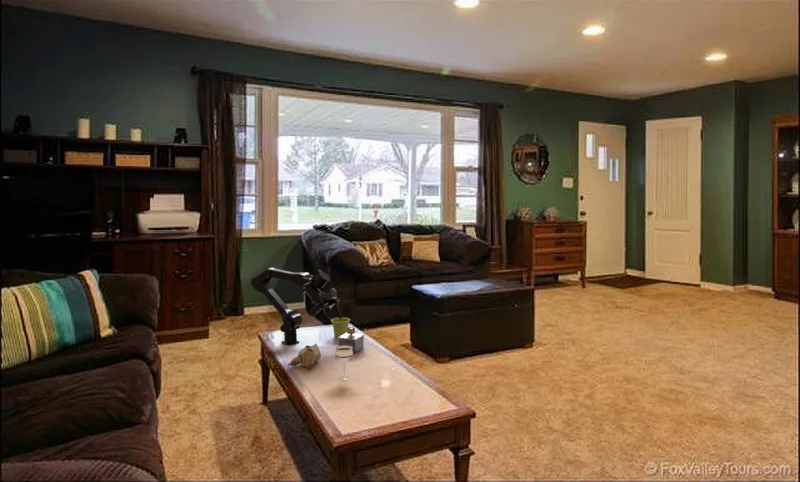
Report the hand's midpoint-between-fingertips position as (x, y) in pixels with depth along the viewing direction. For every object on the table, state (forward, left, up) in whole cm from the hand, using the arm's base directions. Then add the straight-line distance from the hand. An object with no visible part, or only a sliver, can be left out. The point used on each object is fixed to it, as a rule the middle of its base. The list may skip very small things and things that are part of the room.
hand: (336, 320), depth 235 cm
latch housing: (+7, +3, -13) cm, 15 cm away
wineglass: (+33, -20, -14) cm, 41 cm away
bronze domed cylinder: (+7, +3, -12) cm, 14 cm away
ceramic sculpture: (+10, -22, -14) cm, 28 cm away
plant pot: (-15, +13, -14) cm, 24 cm away
